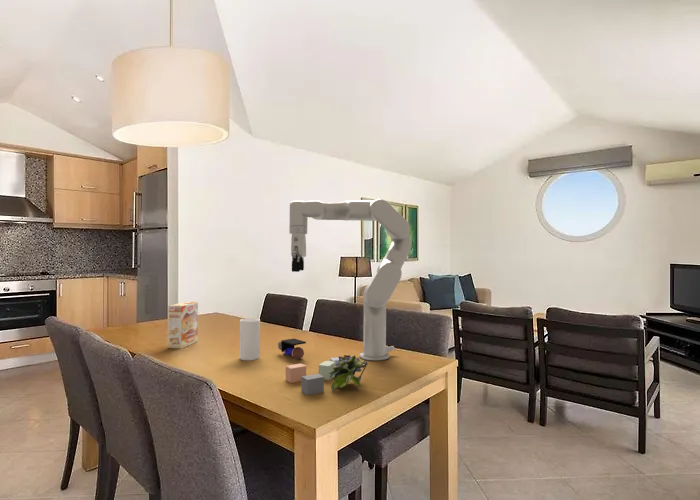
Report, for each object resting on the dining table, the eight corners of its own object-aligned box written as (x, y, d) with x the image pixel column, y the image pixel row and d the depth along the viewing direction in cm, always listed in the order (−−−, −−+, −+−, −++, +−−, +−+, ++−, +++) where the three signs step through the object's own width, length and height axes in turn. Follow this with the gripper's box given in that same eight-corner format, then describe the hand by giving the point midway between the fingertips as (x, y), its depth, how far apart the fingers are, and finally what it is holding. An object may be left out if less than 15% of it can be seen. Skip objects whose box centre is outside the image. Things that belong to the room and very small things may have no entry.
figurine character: (277, 357, 185) (293, 361, 173) (276, 339, 186) (292, 341, 174) (291, 355, 189) (308, 358, 177) (290, 337, 190) (307, 339, 178)
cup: (263, 356, 180) (264, 318, 180) (251, 361, 173) (251, 321, 173) (248, 354, 184) (248, 317, 184) (235, 358, 176) (235, 320, 176)
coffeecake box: (181, 348, 193) (181, 305, 193) (167, 348, 194) (167, 305, 194) (198, 341, 208) (198, 301, 208) (185, 341, 209) (185, 301, 209)
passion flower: (343, 401, 146) (356, 364, 152) (367, 404, 137) (380, 365, 143) (317, 385, 140) (331, 348, 147) (340, 388, 131) (354, 347, 138)
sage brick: (325, 374, 156) (325, 360, 156) (335, 375, 155) (335, 361, 155) (318, 378, 151) (318, 364, 151) (328, 380, 149) (329, 366, 149)
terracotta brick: (300, 377, 153) (301, 363, 153) (306, 380, 149) (306, 366, 149) (285, 380, 149) (285, 365, 149) (290, 383, 146) (290, 368, 146)
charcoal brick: (317, 388, 140) (317, 373, 140) (323, 392, 137) (323, 376, 137) (301, 392, 137) (301, 376, 137) (307, 395, 134) (307, 379, 134)
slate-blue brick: (345, 370, 162) (346, 357, 162) (348, 373, 158) (348, 359, 158) (330, 371, 161) (330, 357, 161) (332, 374, 157) (332, 360, 157)
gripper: (303, 229, 171) (303, 272, 171) (310, 231, 188) (309, 270, 188) (285, 229, 171) (284, 272, 171) (293, 231, 188) (293, 269, 189)
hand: (297, 270), depth 180 cm, fingers open, 9 cm apart
